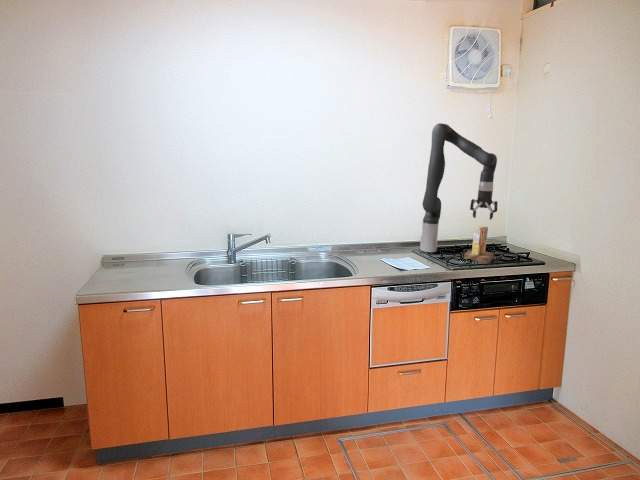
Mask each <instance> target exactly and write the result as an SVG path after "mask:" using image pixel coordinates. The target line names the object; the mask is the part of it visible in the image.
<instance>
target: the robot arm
mask: <svg viewBox="0 0 640 480" xmlns="http://www.w3.org/2000/svg"><path fill="white" fill-rule="evenodd" d="M445 142H448V143H450V144H452V145H454V146H455V147H457V148H458V149H459V150H460V151H461V152H462V153H463V154H466V155H468V156H469V157H470V158H472V159H474V160H475V161H476V162H478V163H479V164H480V165H482V166H483V168H482V170H481V172H480V177H479V183H478V190H477V191H478V192H477V198H476V199H475V198H472V199H471V200H470V206H469V207H470V208H469V210H470V211H472V217H473V219H475V218H476V217H477V210H478V209H479V208H480V209H488V210H489V211H490V212H489V221H491V220H493V218H494V213H497V212H498V200H492V199H493V192H494V179H495V172H496V168H497V163H498V157H497V155H496V154H494V153H492V152H488V151H486V150H484V149H482V147H481V146H479V145H478V144H476V143H474V142H473V141H471V140H469V139H467V138H466V137H464V136H463V135H461V134H459V132H457V131H456V130H454V129H453V128H452V127H451V126H450V125H449V124H447V123H443V122H442V123H441V122H439V123H437V124H435V125H434V126H433V128H432V132H431V149H430V154H429V156H430V157H429V163H428V169H427V176H426V185H425V186H426V187H425V192H424V196H423V199H422V200H423V201H422V208H423V210H424V213H425V214H424V216H423V219H422V231H421V235H420V241H419V242H420V244H419V246H420V247H419V251H420V252H425V253H436V252H437V248H438V235H439V222H440V218H441V214H442V212H441V211H442V201H441V199H440V198H439V197H438V193H439V188H440V185H441V184H442V183H441V182H442V181H443V178H444V175H445V170H446V169H445V168H446V159H445V151H444V149H445ZM474 204H477V205H476V206H475V207H474ZM491 205H493V206H494V209H493V207H492V206H491Z"/></svg>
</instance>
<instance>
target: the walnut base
mask: <svg viewBox="0 0 640 480" xmlns="http://www.w3.org/2000/svg"><path fill="white" fill-rule="evenodd" d="M463 259H471V260H473V261H472V262H479V263H485V264H490V263H491V261H492V260H493V259H494V252H488V251H485V253H484V254H480V255H474V254H472V249H468V250H467V251H466V252H465V253H464V254H463Z"/></svg>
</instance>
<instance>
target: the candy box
mask: <svg viewBox="0 0 640 480" xmlns="http://www.w3.org/2000/svg"><path fill="white" fill-rule="evenodd" d="M488 230H489V227H488V226H483V225H481V226H477V227H474V228H473V237H472V238H473V239H472V247H471V250H472V254H474V255H480V254H484V253H485V252H486V248H487V239H488Z"/></svg>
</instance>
